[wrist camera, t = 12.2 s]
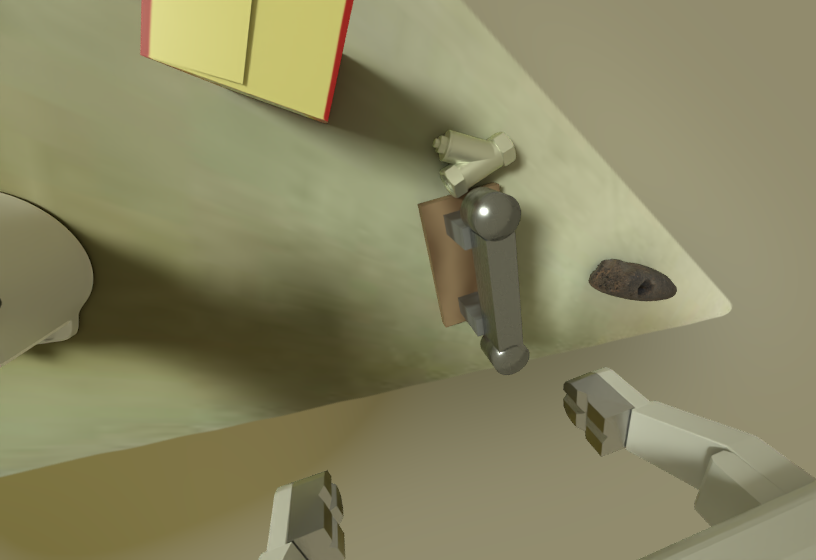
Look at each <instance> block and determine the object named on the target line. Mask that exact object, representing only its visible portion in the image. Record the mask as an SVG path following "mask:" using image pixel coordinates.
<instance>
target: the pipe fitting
mask: <svg viewBox="0 0 816 560" xmlns="http://www.w3.org/2000/svg"><path fill="white" fill-rule="evenodd" d="M433 147H435V148H436V152H438V153H439V159H440V161H443V162H447V163H450V164H449V165H448V166H446V167H445V168H443V169H442V170H440V176H441V179H442V181H443V183H444V185H445V187H446V188H447V190H448V191H449V193H450V194H451V195H452V196H453V197H455V198H459V197H460V196H462V195H463V194H465V193H466V192H468V188H470V187H471V186H473V185H474V184H476V183H477V182H479V181H481V180H482V179H484V178H485V177H487V176H488V175H490V174H491V173H493V172H494V171H496V170H497V169H499V168H500V167H506V166H507V165H509V164H510V163H512V162H513V161H515V159H516V151H515V147H514V145H513V143H512V141H511V139H510V138H509V137H508V136H507V135H506V134H505V133H504V132H498V133H496V134H494V135H493V136H491V137H490V138H488V139H487V140H483V139H480V138H476V137H473V136H469V135H466V134H462V133H459V132H455V131H452V130H447V131H446V133H445V135H444V136H439V138H438V139H434V142H433Z"/></svg>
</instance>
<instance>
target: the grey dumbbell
mask: <svg viewBox="0 0 816 560" xmlns="http://www.w3.org/2000/svg"><path fill="white" fill-rule="evenodd" d="M460 215H461V219H462V221H463V223H464V224H465V225H466V226H467V227H469V228H470V229H469V232H470V239H471V246H472V253H473V260H474V267H475V274H476V281H477V288H478V295H479V302H480V309H481V316H482V323H483V329H484V335H483V337H482V339H481V343H480V345H481V349H482V350H483V352H484V353H485V355H486V356H487V357H488V359H489V360H490V362H491V363H492V364H493V366H494V367H495V369H496V370H497V371H498V372H499V373H500V374H503V375H510V374H514V373H516V372H518V371H520V370H521V369H522V368H523V367H524V366H525V365H526V364H527V362H528V360H529V350H528V349H527V348H526V347H525V345H524V344H523V335H522V321H521V307H520V293H519V279H518V265H517V251H516V237H515V232H514V231H515V229H516V228H517V226H518V224H519V221H520V217H521V210H520V206H519V204H518V202H517V201H516V199H514V198H513V197H512V196H510V195H507V194H504V193H501V192H499V191H496V190H493V189H491V188H488V187H479V188H476V189H473V190H472V191H470V192H469V193H468V194H467V195H466V196H465V198H464V199H463V201H462V204H461V208H460Z"/></svg>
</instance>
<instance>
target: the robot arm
mask: <svg viewBox="0 0 816 560" xmlns="http://www.w3.org/2000/svg"><path fill="white" fill-rule="evenodd" d="M92 286H93V270H92V266H91V263H90V260H89V258H88V255H87V254H86V252H85V250H84V248H83V247H82V245H81V244H80V242H79V241H78V240H77V239H76V237H75V236H74V235H73V234H72V233H71V232H70V231H69V230H68V229H67V228H66V227H65V226H64V225H62V224H61V223H60V222H59V221H57V220H56V219H55V218H53V217H52V216H51V215H49V214H48V213H46V212H44V211H43V210H41V209H39V208H38V207H36V206H34V205H32V204H30V203H28V202H25V201H23V200H21V199H18V198H16V197H13V196H10V195H7V194H4V193H0V367H2V366H4V365H6V364H7V363H9V362H10V361H12V360H13V359H15V358H16V357H18V356H20V355H21V354H23V353H24V352H26V351H27V350H29V349H30V348H32V347H33V346H35V345H36V344H43V343H50V342H58V341H64V340H67V339H69V338H70V337H72V336H73V335H75V334H76V333H77V331H78V327H79V312H80V309H81V308H82V306H83V305H84V304H85V302H86V301H87V299H88V297H89V295H90V293H91V290H92ZM563 390H564V391H565V392H566V393H567V394H566V396H565V397H564V399H563V401H564V408H565V411H566V413H567V415H568V417H569V419H570V420H571V421H572V423H573V424H574V425H575V426H576V427H578V428H580V429H582V430H584V431H585V436H586V439H587V441H588V442H589V443H590V444H591V445H592V446H593V448H594V449H595V450H596V451H597V452H598V454H599V455H600V456H601V457H602V456H604V455H607V454H610V453H613V452H615V451H618V450H621V449H623V448H626V450H628V451H630V452H631V453H633V454H635V455H637V456H639V457H640V458H643V459H644V460H646V461H648V462H650V463H651V464H653V465H655V466H657V467H659V468H661V469H662V470H664V471H666V472H668V473H669V474H671V475H673V476H675V477H677V478H679V479H680V480H682V481H684V482H686V483H688V484H689V485H691V486H693V487H695V488H697V489H699V492H698V494H697V497H696V500H695V503H694V505H695V506H694V507H695V510H696V511H697V512H698V513H699V514H700V515H701V516H702V517H703V518H704V520H705V521H706V522H707V523H708V524H709V525H710V526H711V527H710V528H708V529H706V530H703V531H701V532H699V533H697V534H694V535H692V536H690V537H688V538H686V539H683V540H681V541H679V542H676V543H674V544H672V545H670V546H667V547H665V548H663V549H661V550H659V551H656V552H654V553H652V554H650V555H647V556H645V557H643V558H640V559H638V560H816V479H815V478H814V477H813V476H811V475H810V474H808V473H807V472H806V471H804V470H803V469H802V468H800V467H799V466H797V465H796V464H795V463H793V462H792V461H791V460H789V459H788V458H786V457H785V456H783V455H782V454H781V453H779V452H778V451H777V450H775V449H774V448H772V447H771V446H770V445H768V444H767V443H765V442H764V441H763V440H761V439H760V438H758V437H757V436H755V435H752V434H749V433H747V432H744V431H741V430H738V429H735V428H732V427H729V426H726V425H723V424H721V423H718V422H715V421H712V420H709V419H706V418H704V417H701V416H698V415H695V414H692V413H689V412H686V411H684V410H681V409H678V408H675V407H672V406H669V405H666V404H663V403H661V402H658V401H652V402H650V401H649V400H648V399H647V398H645V397H644V396H643V395H642V394H641V393H639V392H638V391H637V390H636V389H635V388H633V387H632V386H631V385H630V384H629V383H627V382H626V381H625V380H624V379H623V378H621V377H620V376H619V375H618V374H617V373H615V372H614V371H613V370H612V369H611V368H608V367H603V368H601V369H598V370H596V371H593V372H589V373H586V374H584V375H581V376H579V377H576V378H574V379H571V380H569V381H566V382H565V383H564V388H563ZM342 519H343V505H342V499H341V495H340V492H339V489H338V487H337V486H336V484H333V483H331V475H330V474H329V472H328V471H324V472H321V473H318V474H315V475H312V476H310V477H307V478H304V479H301V480H298V481H295V482H292V483H290V484H287V485H284V486H281V487H278V488H277V491H276V493H275V496H274V503H273V510H272V518H271V525H270V532H269V539H268V546H267V551H266V552H264V553H262V554H261V555H260V557H259V559H258V560H345V540H344V532H343V531H342V529H341V527H340V526H339V525H340V523H341V521H342Z"/></svg>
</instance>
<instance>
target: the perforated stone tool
mask: <svg viewBox="0 0 816 560" xmlns="http://www.w3.org/2000/svg"><path fill="white" fill-rule="evenodd" d="M589 283H590V285H591V286H592V287H593V288H595V289H597V290H599V291H601V292H603V293H606V294H609V295H613V296H616V297H620V298H625V299H630V300H638V301H658V300H664V299H668V298H671V297H673V296H674V295H675V294H676V292H677V288H676V286H675V285H674V284H673V282H672V281H671V280H670V279H669V278H668V277H667V276H666V275H664V274H662V273H661V272H659V271H656V270H654V269H652V268H649V267H646V266H643V265H640V264H635V263H627V262H623V261H621V260H616V259H610V260H604V261H602V262H601V263H600V264H599V265H598V267H597V268H596V270H595V271H593V273H592V274H591V275H590V278H589Z"/></svg>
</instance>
